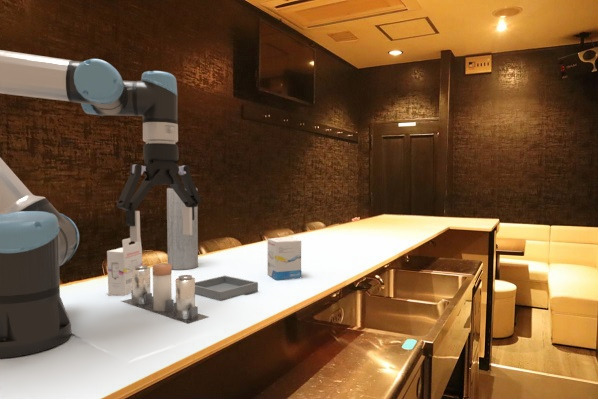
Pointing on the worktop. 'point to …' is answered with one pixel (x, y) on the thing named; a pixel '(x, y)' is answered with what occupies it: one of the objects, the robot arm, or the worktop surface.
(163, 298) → the cylinder
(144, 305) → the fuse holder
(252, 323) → the worktop surface
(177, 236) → the vase
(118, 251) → the ink cartridge box
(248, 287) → the tray
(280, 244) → the ink box
